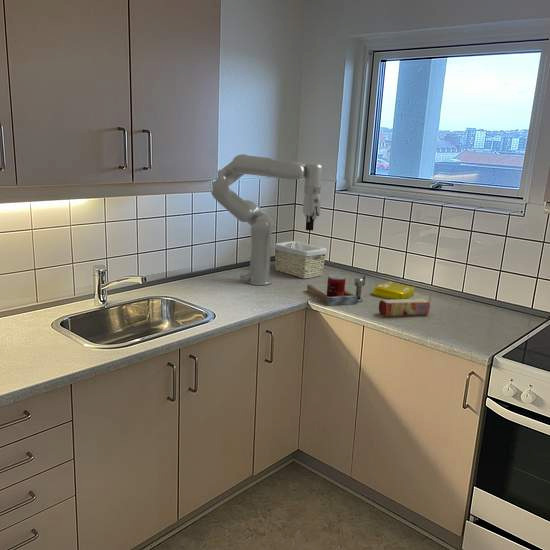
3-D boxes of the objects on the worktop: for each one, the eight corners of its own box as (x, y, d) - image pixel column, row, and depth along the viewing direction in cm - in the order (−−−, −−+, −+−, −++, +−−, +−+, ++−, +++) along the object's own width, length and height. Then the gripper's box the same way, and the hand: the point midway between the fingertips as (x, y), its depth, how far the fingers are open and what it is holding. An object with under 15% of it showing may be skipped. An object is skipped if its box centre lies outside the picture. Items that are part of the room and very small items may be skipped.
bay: (328, 305, 236) (329, 298, 235) (306, 291, 256) (307, 283, 256) (357, 303, 241) (357, 296, 240) (333, 289, 262) (334, 282, 261)
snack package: (421, 311, 237) (423, 296, 236) (430, 316, 231) (432, 300, 229) (377, 313, 231) (378, 297, 229) (384, 318, 225) (386, 302, 223)
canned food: (343, 298, 249) (345, 274, 246) (344, 303, 241) (346, 279, 238) (325, 296, 249) (327, 273, 246) (326, 302, 242) (328, 277, 239)
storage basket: (271, 270, 292) (273, 242, 288) (293, 266, 302) (295, 240, 299) (304, 280, 275) (306, 251, 271) (326, 276, 286) (328, 248, 282)
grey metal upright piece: (355, 302, 243) (358, 277, 240) (351, 299, 247) (353, 275, 244) (364, 301, 245) (367, 277, 242) (360, 299, 249) (362, 274, 246)
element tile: (401, 303, 248) (403, 292, 247) (371, 295, 256) (372, 285, 255) (414, 296, 260) (416, 286, 259) (385, 289, 268) (386, 279, 267)
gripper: (326, 192, 248) (323, 233, 253) (312, 189, 262) (309, 227, 266) (311, 192, 246) (308, 233, 250) (298, 188, 259) (295, 227, 264)
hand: (309, 230), depth 258 cm, fingers closed
